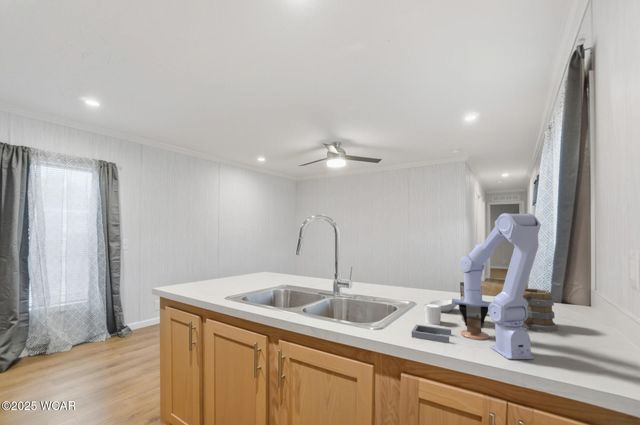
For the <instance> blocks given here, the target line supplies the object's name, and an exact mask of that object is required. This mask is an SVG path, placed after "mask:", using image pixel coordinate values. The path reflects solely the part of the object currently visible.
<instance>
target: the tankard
mask: <svg viewBox="0 0 640 425" xmlns="http://www.w3.org/2000/svg"><path fill="white" fill-rule="evenodd" d="M523 298H524V299H525V300H526V302H527V303H528V306H527V312H528V316H527V319H526V320H525V321H524V324H523V325H522V328H525V329H529V330H532V331H539V332H540V331H541V332H553V331H558V328H559V327H558V325H557V324H556V323H555V322H554V320H553V319H555V312H554V311H553V306H554V304H555V301H554V299H553V298H552V292H550V291H548V290H545V289H538V288H529V287H528V288H525V291H524V295H523ZM552 330H553V331H552Z"/></svg>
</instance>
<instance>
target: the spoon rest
mask: <svg viewBox="0 0 640 425" xmlns="http://www.w3.org/2000/svg"><path fill="white" fill-rule="evenodd" d="M456 299H461V297H458V298H456ZM428 304H437V305H440V306H441V313H449V312H451V311H452V310H453V309H455V308H456V307H457V306H458V305H452V299H439V300H431V301H429V303H428Z"/></svg>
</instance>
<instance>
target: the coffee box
mask: <svg viewBox="0 0 640 425" xmlns="http://www.w3.org/2000/svg"><path fill="white" fill-rule="evenodd" d="M459 288H460V291H459V292H460V298H461V299H465V296H464V281H460V282H459ZM481 290H483V287H482V285H481ZM460 313H461V312H460ZM460 315H461V321H463V322H464V323H465V321H464V318H463V315H462V313H461V314H460ZM467 316H472V317H480V318H481V307H473V306H467Z"/></svg>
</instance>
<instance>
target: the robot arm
mask: <svg viewBox="0 0 640 425" xmlns="http://www.w3.org/2000/svg"><path fill="white" fill-rule="evenodd" d="M541 227H542V226H541V223H540V221H539V219H538V218H537V217H536V215H535V214H532V213H528V212H527V213H508V212H507V213H504V212H503V213H501V214H500V215H499V216H498V218H497V219H496V220H495V221H494V228H493V229H492V231H491V232H490V233H489V234H488V235H487V237H486V239H485V240H484V241H483V242H479V243H476V244H475V247H474V248H473V249H472V250H471V251H470V252H469V253H468V255H465V256H464V255H463V256H461V258H460V260H459V268H460V270H461V271H462V272H463V282H464V296H465V299H457V298H451V300H452V305H457V306H458V309H459V311H460V313H462V315H463V318H464V321H465V322H464V321H463V322H464V325H465V326H464V327H467V306H473V307H481V329H484V323H485V320H486V317H487V315H489V317H490V319H491V320H492V323H494V328H495V330H494V331H495V345H490V346H489V347H490V348H491V349H492V350H493V351H495V352H496V353H498V354H500V355H502V356H503V357H504V358H506V359H507V360H534V359H535V357H534V356H533V355H532V351H531V350H532V348H531V337H530V335H529V333H528V332H527V331H526V330H525V329H524V327H522V325H523V324H524V321H525V320H526V319H527V316H528V312H527V306H528V303H527V302H526V300H525V299H524V298H523V295H524V291H525V288H526V287H527V284H528V281H529V278H530V275H531V271H532V269H533V266H534V262H535V259H536V255H537V252H538V249H539V246H540V245H539V232H540V229H541ZM505 239H507V241H508V242H509V243H511V244H513V246H514V248H513V252H512V255H511V258H510V263H509V265H508V269H507V273H506V276H505V280H504V283H503V287H502V291H501V292H500V293H498V294H497V295H495V296H494V297H493V300H492V301H485V300H483V291H482V290H483V289H482V290H481V286H482V277H483V271H484V269H485V265H486V264H485V263H487V262H488V260H489V259H490V258H491V257H492V256H493V255H494V249H495V248H496V247H497V246H498V245H499V244H501V242H503V241H504V240H505Z"/></svg>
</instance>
